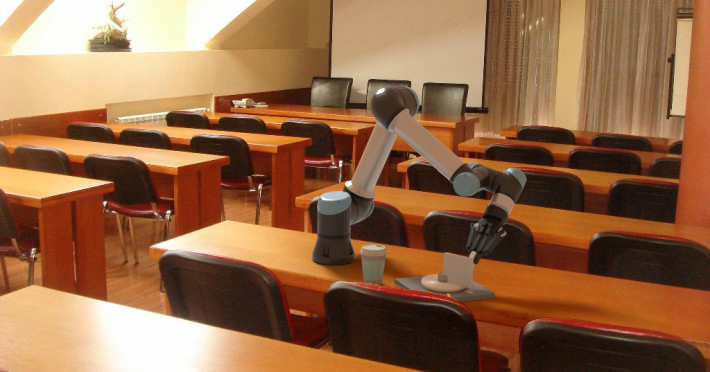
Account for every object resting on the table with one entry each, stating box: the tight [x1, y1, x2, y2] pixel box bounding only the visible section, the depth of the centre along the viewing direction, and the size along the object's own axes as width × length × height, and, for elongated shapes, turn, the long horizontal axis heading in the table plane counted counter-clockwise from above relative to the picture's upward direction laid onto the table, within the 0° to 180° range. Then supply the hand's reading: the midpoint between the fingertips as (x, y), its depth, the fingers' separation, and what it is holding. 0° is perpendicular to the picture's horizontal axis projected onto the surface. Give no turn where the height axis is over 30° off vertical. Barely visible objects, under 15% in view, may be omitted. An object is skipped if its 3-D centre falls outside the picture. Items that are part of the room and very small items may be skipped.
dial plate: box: [394, 274, 496, 303], centre depth 247 cm, size 23×23×2 cm
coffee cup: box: [359, 243, 388, 286], centre depth 252 cm, size 8×8×12 cm
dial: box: [421, 251, 474, 292], centre depth 245 cm, size 17×14×10 cm
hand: (466, 271), depth 246 cm, fingers closed
